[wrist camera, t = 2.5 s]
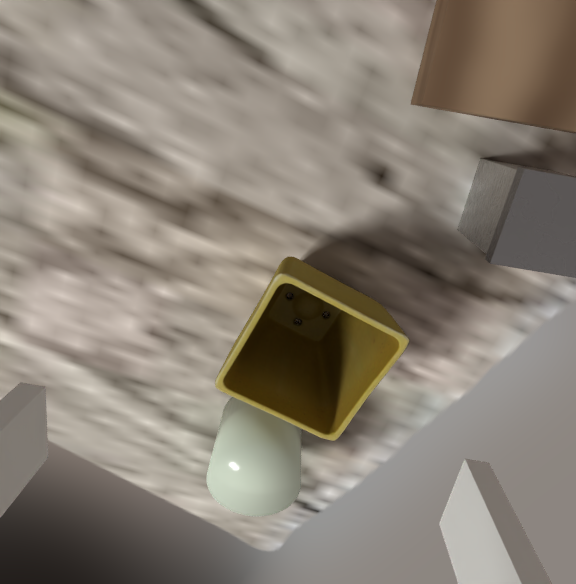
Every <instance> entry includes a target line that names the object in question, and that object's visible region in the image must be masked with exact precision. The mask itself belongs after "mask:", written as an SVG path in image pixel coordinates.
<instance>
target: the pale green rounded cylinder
mask: <svg viewBox="0 0 576 584" xmlns="http://www.w3.org/2000/svg"><path fill="white" fill-rule="evenodd" d="M301 437H302V429H301V428H299V427H297V426H295V425H293V424H291V423H289V422H287V421H285V420H283V419H281V418H278V417H276V416H274V415H272V414H270V413H267V412H265V411H263V410H261V409H259V408H256V407H254V406H252V405H250V404H248V403H246V402H243V401H241V400H238V399H236V398H234V397H232V398H231V399H230V400H229V401H228V402H227V404H226V406H225V408H224V411H223V415H222V418H221V422H220V426H219V430H218V434H217V437H216V441H215V445H214V449H213V452H212V456H211V460H210V464H209V468H208V471H207V486H208V489H209V491H210V493H211V495H212V496H213V497H214V499H215V500H216V501H217V502H218V503H220V504H221V505H222V506H224V507H225V508H227V509H229V510H230V511H233V512H235V513H238V514H242V515H246V516H267V515H272V514H275V513H278V512H280V511H282V510H284V509H286V508H287V507H289V506H290V505H291V504H292V503H293V502H294V501H295V500H296V498H297V496H298V494H299V492H300V488H301Z"/></svg>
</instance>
